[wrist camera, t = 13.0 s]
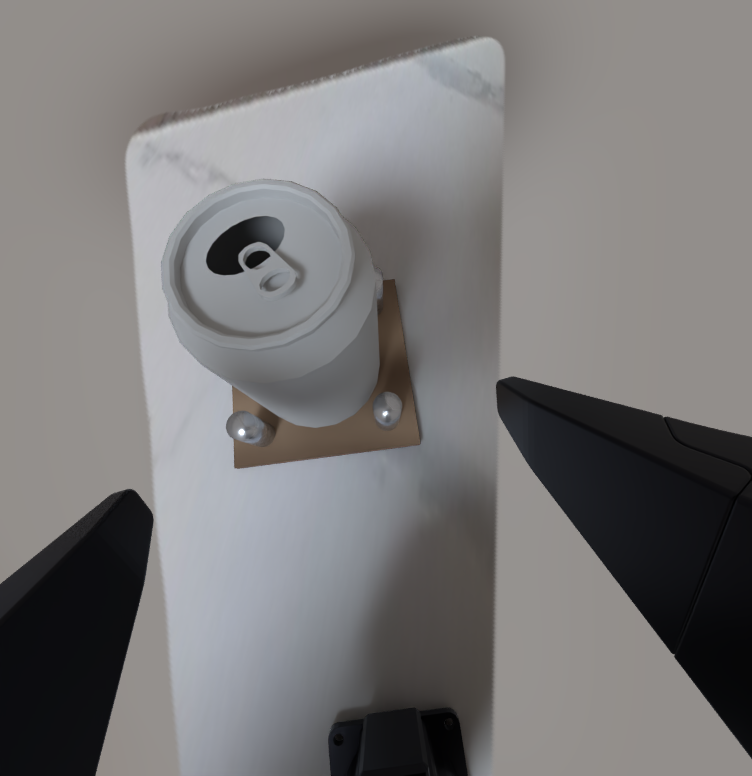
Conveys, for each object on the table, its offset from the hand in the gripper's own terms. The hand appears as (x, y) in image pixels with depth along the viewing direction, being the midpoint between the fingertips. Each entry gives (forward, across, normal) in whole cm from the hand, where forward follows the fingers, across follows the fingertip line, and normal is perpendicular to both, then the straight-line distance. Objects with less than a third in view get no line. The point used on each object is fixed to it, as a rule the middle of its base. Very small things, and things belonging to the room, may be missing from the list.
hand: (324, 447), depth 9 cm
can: (+14, +1, +5) cm, 15 cm away
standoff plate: (+14, +1, +5) cm, 15 cm away
